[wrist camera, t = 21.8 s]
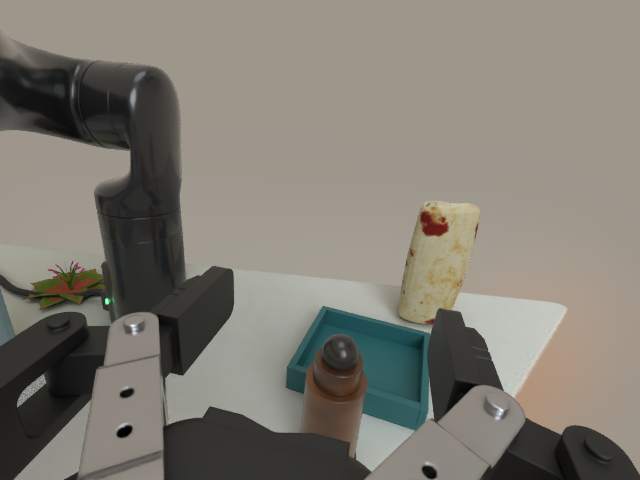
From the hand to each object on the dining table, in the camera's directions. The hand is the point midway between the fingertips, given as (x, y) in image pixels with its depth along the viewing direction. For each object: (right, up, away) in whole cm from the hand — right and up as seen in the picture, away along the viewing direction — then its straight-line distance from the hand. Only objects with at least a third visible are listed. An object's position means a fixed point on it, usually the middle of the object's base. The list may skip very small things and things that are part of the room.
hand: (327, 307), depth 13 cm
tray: (+5, -14, +31) cm, 34 cm away
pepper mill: (0, -18, +19) cm, 26 cm away
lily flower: (-40, -6, +41) cm, 57 cm away
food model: (+17, -10, +42) cm, 47 cm away
